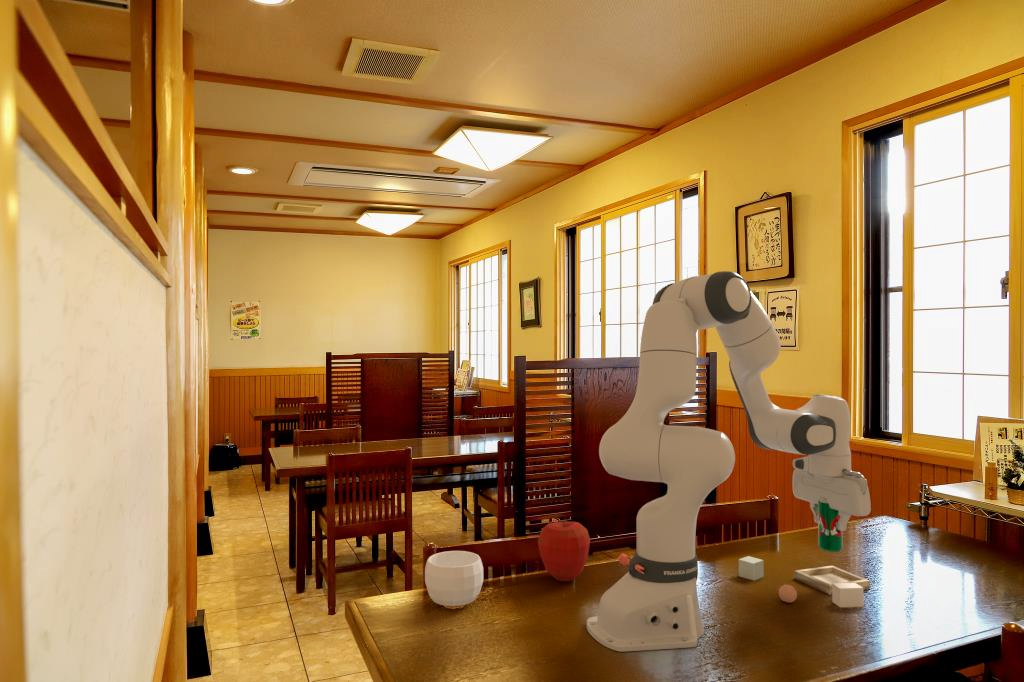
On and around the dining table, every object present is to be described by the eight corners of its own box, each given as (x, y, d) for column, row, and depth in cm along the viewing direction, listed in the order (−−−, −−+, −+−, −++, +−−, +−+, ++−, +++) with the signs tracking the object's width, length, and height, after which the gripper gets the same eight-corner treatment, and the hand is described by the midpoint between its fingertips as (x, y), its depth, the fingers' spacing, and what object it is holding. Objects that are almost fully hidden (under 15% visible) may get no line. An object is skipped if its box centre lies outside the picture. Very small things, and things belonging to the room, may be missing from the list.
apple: (578, 567, 168) (577, 510, 168) (599, 583, 156) (599, 522, 156) (530, 573, 164) (530, 514, 164) (549, 590, 152) (548, 527, 152)
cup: (412, 605, 144) (412, 559, 144) (456, 589, 153) (455, 546, 153) (452, 621, 136) (452, 572, 136) (495, 603, 145) (495, 557, 145)
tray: (829, 594, 149) (829, 586, 149) (794, 578, 159) (794, 570, 159) (869, 588, 152) (869, 580, 152) (832, 573, 163) (832, 565, 163)
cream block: (840, 607, 142) (839, 588, 142) (832, 602, 145) (832, 583, 145) (863, 607, 142) (863, 587, 142) (855, 601, 145) (855, 582, 145)
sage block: (753, 580, 158) (753, 563, 158) (738, 576, 161) (738, 559, 161) (763, 577, 160) (763, 560, 160) (748, 572, 164) (748, 556, 164)
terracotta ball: (786, 606, 142) (786, 588, 142) (775, 600, 146) (774, 583, 146) (800, 604, 143) (800, 586, 143) (789, 598, 147) (788, 581, 147)
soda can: (843, 548, 157) (843, 495, 157) (841, 554, 152) (841, 500, 152) (819, 544, 159) (819, 493, 159) (816, 550, 155) (816, 497, 155)
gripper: (877, 473, 147) (878, 537, 147) (808, 457, 166) (809, 514, 166) (854, 475, 145) (855, 540, 145) (787, 459, 164) (787, 516, 164)
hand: (830, 526), depth 156 cm, fingers closed on soda can, 5 cm apart
